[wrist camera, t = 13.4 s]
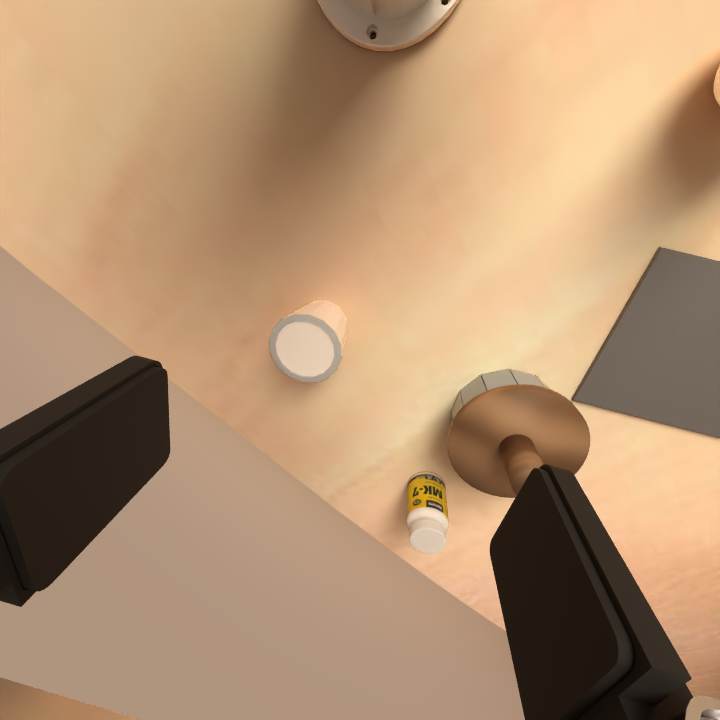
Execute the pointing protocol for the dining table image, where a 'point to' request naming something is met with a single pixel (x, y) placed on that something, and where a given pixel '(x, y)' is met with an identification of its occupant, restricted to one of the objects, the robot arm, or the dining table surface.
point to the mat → (664, 348)
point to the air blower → (717, 86)
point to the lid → (515, 437)
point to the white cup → (310, 341)
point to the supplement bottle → (427, 512)
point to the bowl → (493, 385)
